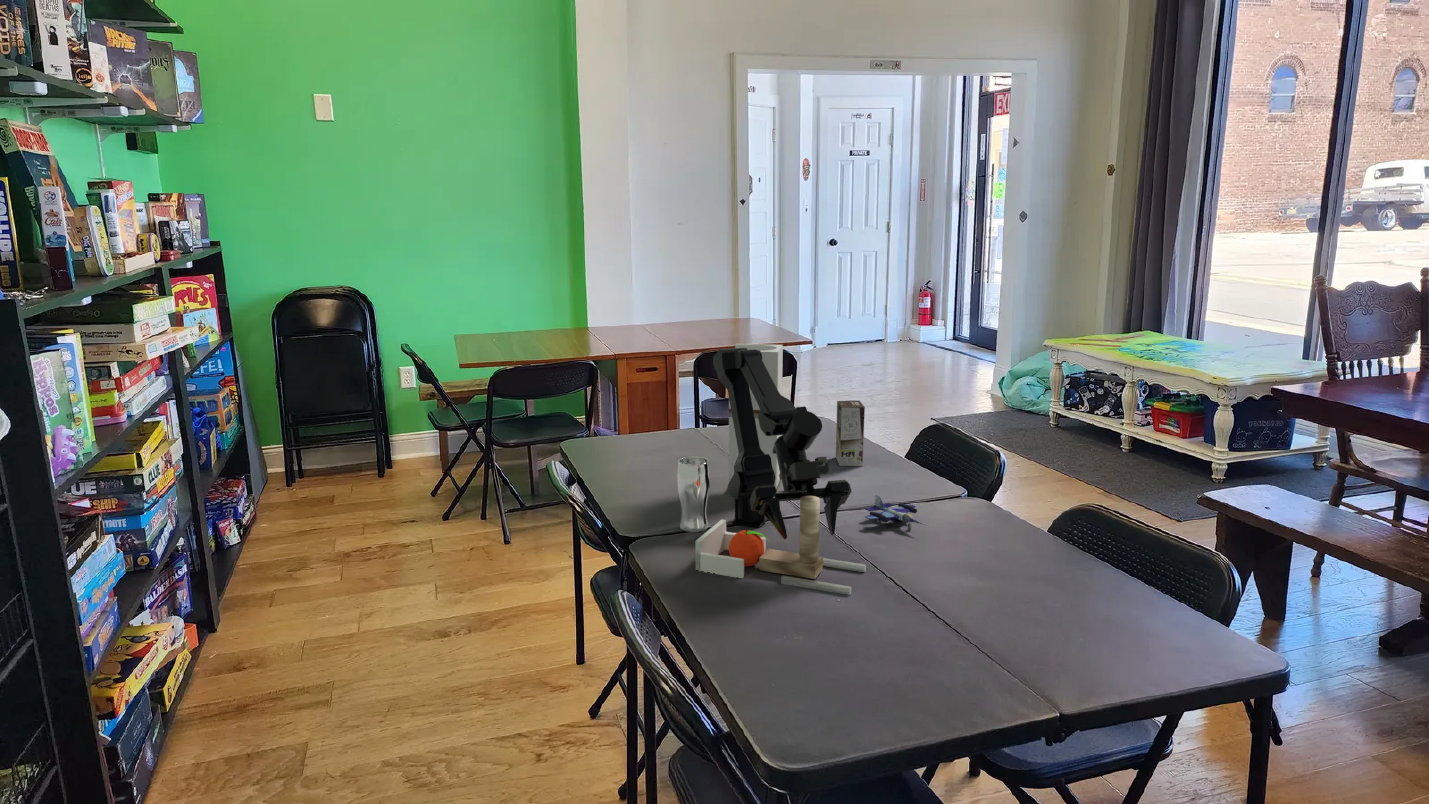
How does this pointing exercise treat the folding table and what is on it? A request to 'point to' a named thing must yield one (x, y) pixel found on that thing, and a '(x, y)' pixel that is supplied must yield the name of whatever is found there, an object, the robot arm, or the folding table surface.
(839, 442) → the coffee box
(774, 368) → the white square tower
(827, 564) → the rails
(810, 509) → the ball
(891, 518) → the toy airplane
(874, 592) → the folding table surface
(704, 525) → the beer glass
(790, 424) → the robot arm
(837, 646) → the folding table surface
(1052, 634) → the folding table surface
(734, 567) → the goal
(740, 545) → the clementine
